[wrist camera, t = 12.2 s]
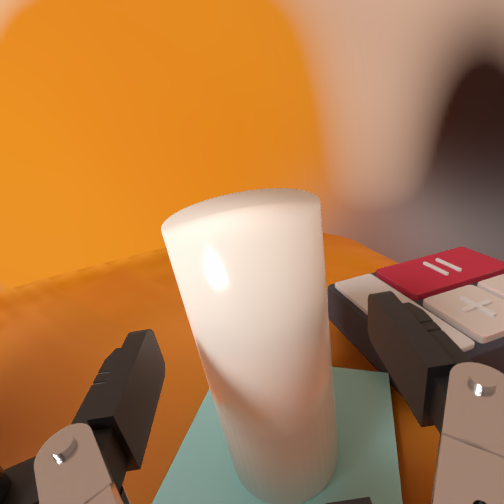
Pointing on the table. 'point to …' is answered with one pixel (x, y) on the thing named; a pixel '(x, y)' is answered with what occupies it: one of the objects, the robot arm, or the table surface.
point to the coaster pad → (349, 451)
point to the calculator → (432, 302)
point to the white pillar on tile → (262, 333)
